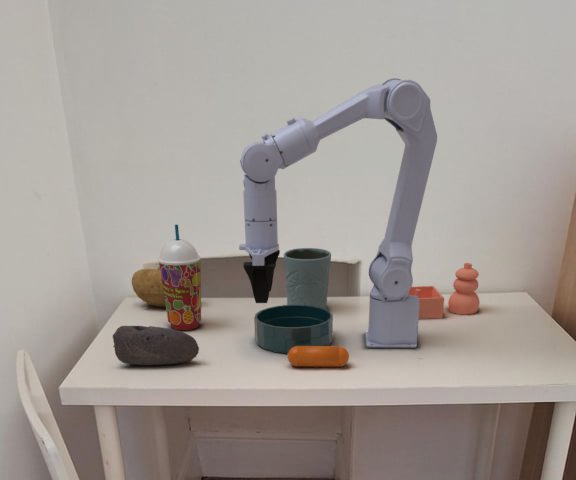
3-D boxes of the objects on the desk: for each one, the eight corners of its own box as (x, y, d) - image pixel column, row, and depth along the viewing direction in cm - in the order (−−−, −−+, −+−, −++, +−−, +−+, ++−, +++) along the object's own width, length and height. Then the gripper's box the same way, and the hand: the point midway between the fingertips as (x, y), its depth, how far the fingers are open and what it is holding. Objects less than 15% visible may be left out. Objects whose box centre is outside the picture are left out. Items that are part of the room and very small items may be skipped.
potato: (192, 312, 163) (189, 274, 159) (129, 311, 164) (124, 274, 160) (200, 299, 172) (197, 263, 168) (140, 299, 173) (135, 263, 169)
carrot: (348, 362, 136) (349, 343, 134) (349, 369, 133) (349, 350, 131) (288, 362, 136) (287, 343, 134) (287, 369, 133) (286, 349, 131)
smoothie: (157, 330, 153) (146, 227, 143) (177, 318, 160) (168, 219, 149) (193, 334, 150) (184, 230, 140) (212, 322, 157) (205, 222, 146)
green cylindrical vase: (314, 300, 170) (315, 245, 163) (339, 311, 162) (340, 254, 156) (276, 307, 165) (274, 251, 159) (299, 319, 158) (299, 261, 152)
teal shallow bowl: (332, 329, 152) (332, 304, 149) (332, 354, 139) (332, 328, 137) (259, 328, 153) (258, 304, 150) (252, 354, 140) (251, 328, 138)
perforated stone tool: (202, 358, 138) (199, 321, 135) (198, 369, 134) (195, 331, 130) (121, 358, 139) (116, 322, 135) (115, 369, 134) (109, 331, 131)
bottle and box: (399, 319, 157) (402, 271, 152) (391, 306, 165) (394, 260, 160) (484, 316, 158) (490, 269, 153) (472, 303, 166) (477, 258, 161)
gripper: (242, 211, 137) (246, 286, 144) (232, 227, 125) (237, 308, 132) (281, 211, 137) (282, 286, 144) (275, 226, 124) (277, 308, 131)
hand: (263, 296), depth 138 cm, fingers open, 7 cm apart
